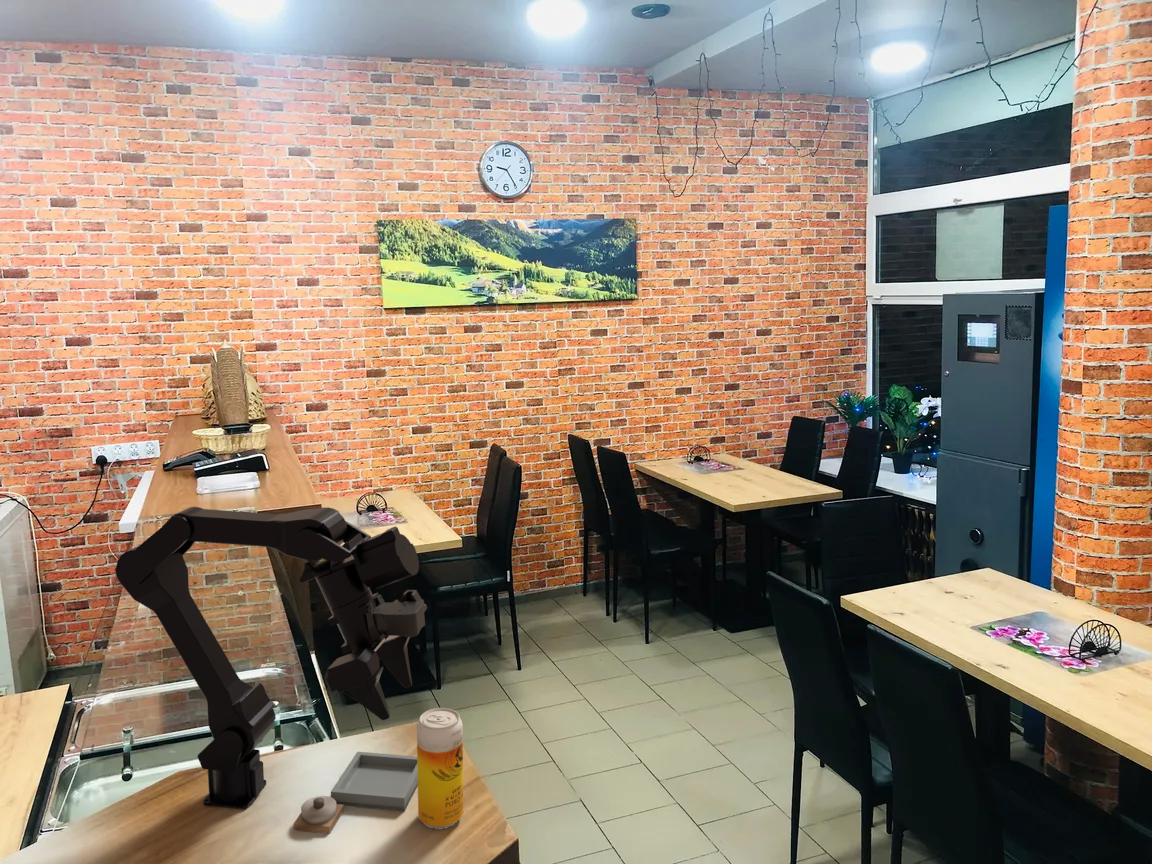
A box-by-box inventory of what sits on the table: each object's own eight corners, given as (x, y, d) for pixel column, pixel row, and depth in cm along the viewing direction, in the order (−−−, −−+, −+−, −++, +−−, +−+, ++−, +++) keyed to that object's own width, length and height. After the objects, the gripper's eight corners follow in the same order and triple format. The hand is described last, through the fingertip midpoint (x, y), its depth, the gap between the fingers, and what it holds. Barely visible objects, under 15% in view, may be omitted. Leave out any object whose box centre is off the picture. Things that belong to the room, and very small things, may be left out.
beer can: (454, 834, 118) (453, 732, 115) (411, 828, 119) (409, 726, 116) (469, 807, 124) (468, 709, 121) (428, 801, 125) (426, 703, 122)
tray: (331, 804, 124) (330, 791, 124) (357, 763, 134) (357, 751, 134) (404, 811, 123) (404, 798, 122) (425, 769, 133) (425, 757, 133)
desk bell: (293, 830, 118) (293, 809, 118) (309, 808, 123) (308, 788, 122) (329, 833, 118) (329, 813, 117) (343, 811, 122) (343, 791, 122)
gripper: (378, 604, 107) (430, 717, 109) (423, 556, 126) (468, 654, 127) (299, 634, 110) (352, 744, 111) (356, 583, 128) (400, 678, 129)
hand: (398, 702), depth 120 cm, fingers open, 9 cm apart
